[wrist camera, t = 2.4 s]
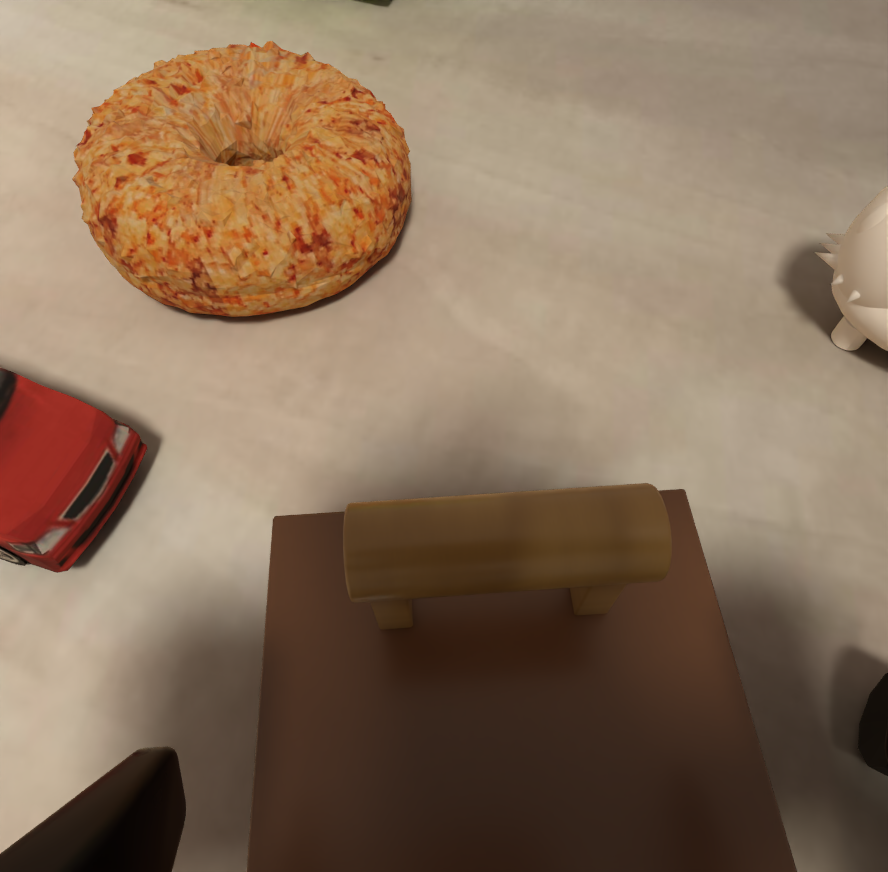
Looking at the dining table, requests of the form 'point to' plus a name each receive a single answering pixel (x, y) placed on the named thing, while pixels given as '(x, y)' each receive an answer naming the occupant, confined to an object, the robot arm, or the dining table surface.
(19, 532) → the toy car
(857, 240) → the toy creature
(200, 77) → the bagel
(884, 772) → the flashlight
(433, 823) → the lid
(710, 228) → the dining table surface
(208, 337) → the dining table surface
